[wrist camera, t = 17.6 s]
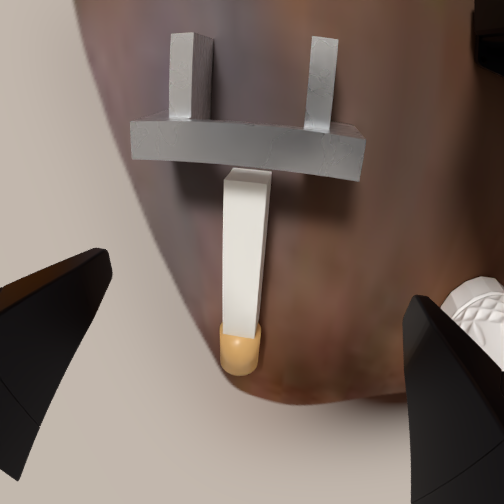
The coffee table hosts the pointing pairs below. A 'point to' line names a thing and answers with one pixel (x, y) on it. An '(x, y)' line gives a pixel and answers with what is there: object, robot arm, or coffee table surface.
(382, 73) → the coffee table surface
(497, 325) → the white cup
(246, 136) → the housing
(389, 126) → the coffee table surface
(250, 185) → the white elongated bar
